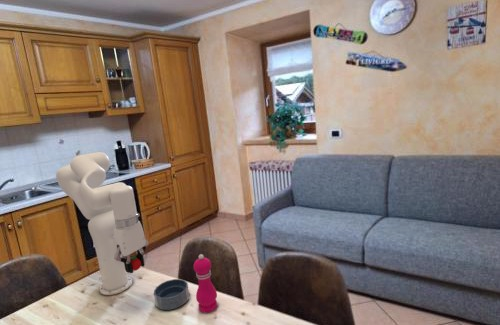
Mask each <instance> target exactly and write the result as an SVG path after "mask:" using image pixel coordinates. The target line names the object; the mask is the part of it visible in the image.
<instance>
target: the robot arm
mask: <svg viewBox="0 0 500 325" xmlns="http://www.w3.org/2000/svg"><path fill="white" fill-rule="evenodd" d="M110 168H111V161H110V158H109V156H108V155H107V154H106V152H104V151H103V152H102V151H95V152H90V153H83V154H79V155H76V156H74V157H73V158H72V159H71V161H70V162H69V164H67V165H63V166H62V167H60V168H59V169H58V170H56V173H55V174H56V175H55V178H56V181H57V184H58V185H59V187H60V189H61V190H62V192H63V193H64V194H66V196H68V197H69V198H70V199H71V200H72V201H73V202H74V203H75V205H76V206H77V208H78V210H79V211H80V212H81V214H82V215H83V217H84V218H85V219H86V220H89V221H88V223H87V227H88V228H87V229H88V232H89V234H90V237H91V240H92V242H93V245H94V250H95V254H96V259H97V263H98V267H99V272H100V276H99V277H98V280H99V281H101V285H100V286H99V290H98V291H99V293H100V294H101V295H103V296H114V295H116V294H120V293H123V292H124V291H126V290H128V289H129V288H130V287H131V286H132V284H133V278H132V277H131V276H129V275H128V274H133V273H134V271H133V267H132V263H131V262H130V260H131V254H134V253H136V254H135V257H137V258H138V259H139V260H140V261H141V267H145V265H146V264H145V258H144V255H145V251H146V248H147V246H148V245H149V244H150V243H149V240H148V239H147V238H146V237H145V236H146V235H145V231H144V229H143V225H142V223H141V221H140V220H139V217H140V216H141V215H140V213H139V212H138V211H137V205H136V199H135V193H134V188H133V187H132V186H130V185H127V184H126V183H125V182H122V181H121V182H120V181H119V182H114V183H111V184H106V185H103V183H104V182H105V181H106V179H107V172H108V170H109V169H110Z"/></svg>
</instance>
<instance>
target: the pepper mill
mask: <svg viewBox="0 0 500 325" xmlns="http://www.w3.org/2000/svg"><path fill="white" fill-rule="evenodd" d="M211 268H212V262H211V260H210V259H209V258H208V257H205V256H204V254H202V253H200V254H199V255H198V258H197V259H195V261H194V263H193V271H194V272H195V275H196V278H197V281H198V286H197V290H196V293H195V299H196V302H197V303H198V309H199V311H200V312H202V313H205V314H206V313H212V312H213V311H215V310H216V309H217V308H218V303H217V298H218V293H217V290H216V287H215V286H214V284H213V282H212V281H211V280H212V279H211V276H212V271H211Z"/></svg>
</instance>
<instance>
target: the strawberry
mask: <svg viewBox="0 0 500 325" xmlns="http://www.w3.org/2000/svg"><path fill="white" fill-rule="evenodd" d="M130 262H131V263H132V267H133V272H135V271H138V270H139V269H140V268H141V267H142V266H141V261H140V260H139V259H138V258H137V257H136V256H132V257H130Z"/></svg>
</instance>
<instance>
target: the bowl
mask: <svg viewBox="0 0 500 325" xmlns="http://www.w3.org/2000/svg"><path fill="white" fill-rule="evenodd" d="M153 297H154V303H155V304H154V305H155V306H156V307H157V308H158V309H160V310H163V311H167V310H168V311H170V310H175V309H177V308H179V307H181V306H183V305H184V304H186V303H187V302H188V301H189V298H190V290H189V283H188V282H187V281H186V280H185V279H181V278H175V279H174V278H173V279H169V280H166V281H163V282H162V283H160V284H158V285H157V286H156V287H155V288H154V290H153Z"/></svg>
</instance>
